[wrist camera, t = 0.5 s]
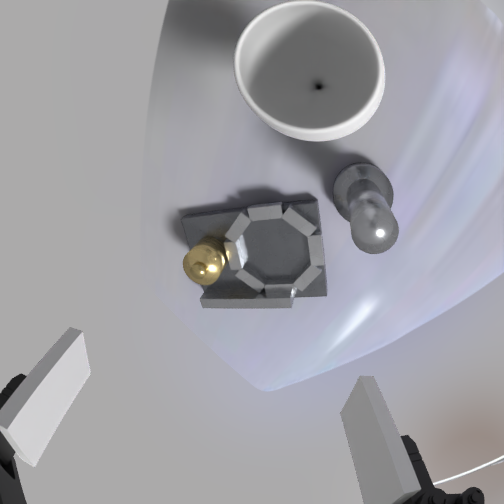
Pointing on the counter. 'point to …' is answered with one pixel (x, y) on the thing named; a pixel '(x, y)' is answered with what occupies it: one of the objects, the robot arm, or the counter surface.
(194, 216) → the carrier plate
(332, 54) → the wineglass
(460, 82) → the counter surface
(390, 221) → the flanged metal post
